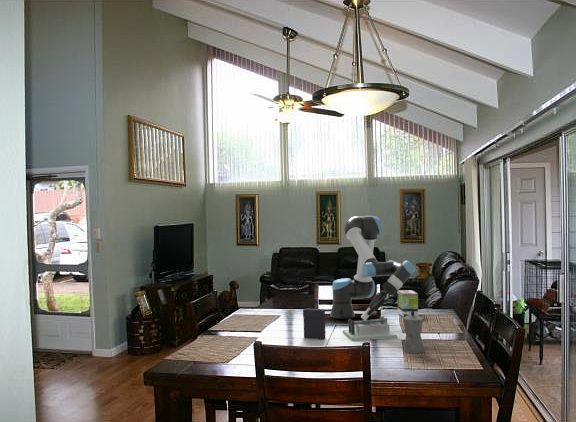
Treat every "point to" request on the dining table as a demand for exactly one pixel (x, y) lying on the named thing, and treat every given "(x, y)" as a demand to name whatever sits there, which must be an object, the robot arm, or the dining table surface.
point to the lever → (368, 321)
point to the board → (369, 336)
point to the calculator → (314, 323)
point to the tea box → (407, 302)
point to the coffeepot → (413, 333)
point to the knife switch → (369, 328)
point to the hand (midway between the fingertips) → (362, 318)
